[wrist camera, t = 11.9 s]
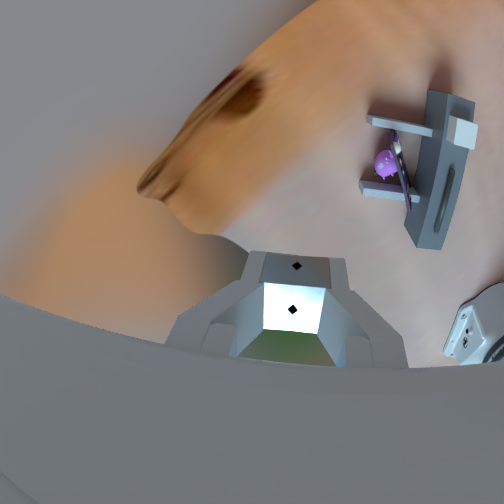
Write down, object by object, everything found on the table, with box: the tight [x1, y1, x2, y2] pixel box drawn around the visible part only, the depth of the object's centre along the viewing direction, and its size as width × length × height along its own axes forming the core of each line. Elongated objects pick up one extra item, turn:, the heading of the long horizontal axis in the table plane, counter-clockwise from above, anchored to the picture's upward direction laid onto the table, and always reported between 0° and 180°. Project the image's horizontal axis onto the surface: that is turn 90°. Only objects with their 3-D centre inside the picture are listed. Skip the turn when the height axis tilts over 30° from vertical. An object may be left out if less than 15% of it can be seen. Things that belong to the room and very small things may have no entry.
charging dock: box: [359, 89, 478, 250], centre depth 30 cm, size 20×12×8 cm, turn 0°
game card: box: [374, 129, 411, 213], centre depth 32 cm, size 7×5×9 cm
